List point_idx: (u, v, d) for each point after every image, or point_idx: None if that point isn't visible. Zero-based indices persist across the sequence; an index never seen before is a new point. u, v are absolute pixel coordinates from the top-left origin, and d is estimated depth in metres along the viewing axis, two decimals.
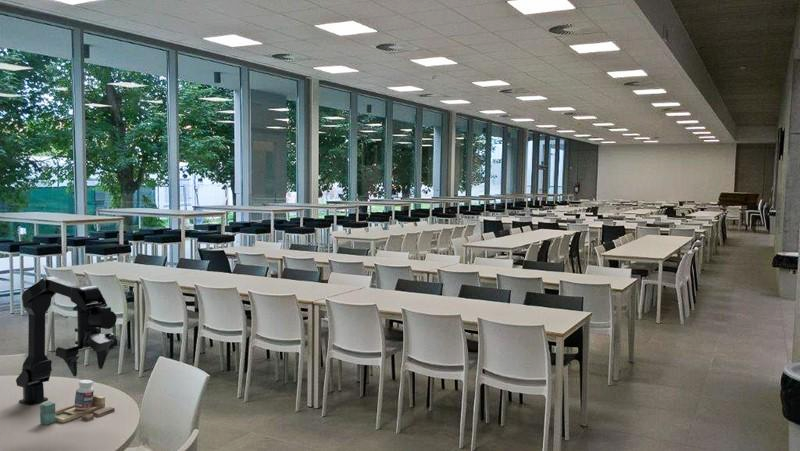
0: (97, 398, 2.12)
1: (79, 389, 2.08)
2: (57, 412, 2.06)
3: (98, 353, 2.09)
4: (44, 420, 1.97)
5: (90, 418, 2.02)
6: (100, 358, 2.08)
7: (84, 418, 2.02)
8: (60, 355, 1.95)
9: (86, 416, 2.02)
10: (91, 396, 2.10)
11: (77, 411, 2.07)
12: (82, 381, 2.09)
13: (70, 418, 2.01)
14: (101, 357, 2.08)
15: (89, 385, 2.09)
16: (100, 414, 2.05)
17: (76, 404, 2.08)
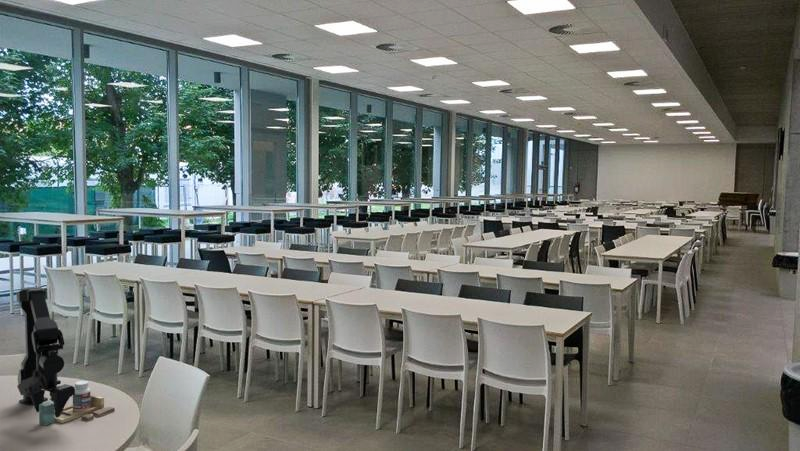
0: (96, 398, 2.12)
1: (75, 391, 2.07)
2: None
3: None
4: (43, 421, 1.97)
5: (90, 418, 2.02)
6: None
7: (84, 418, 2.02)
8: None
9: (86, 416, 2.02)
10: (88, 397, 2.09)
11: (76, 411, 2.07)
12: (77, 383, 2.09)
13: (69, 418, 2.01)
14: None
15: (85, 386, 2.08)
16: (100, 414, 2.05)
17: (74, 406, 2.07)
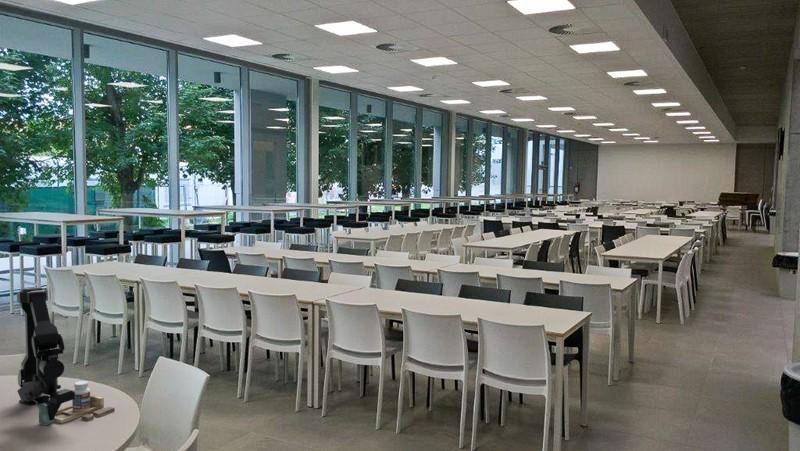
0: (96, 398, 2.12)
1: (75, 391, 2.07)
2: None
3: None
4: (42, 421, 1.97)
5: (90, 418, 2.02)
6: None
7: (84, 418, 2.02)
8: None
9: (86, 416, 2.02)
10: (88, 397, 2.09)
11: (76, 411, 2.07)
12: (77, 383, 2.08)
13: (69, 419, 2.01)
14: None
15: (84, 386, 2.08)
16: (100, 414, 2.05)
17: (74, 406, 2.07)
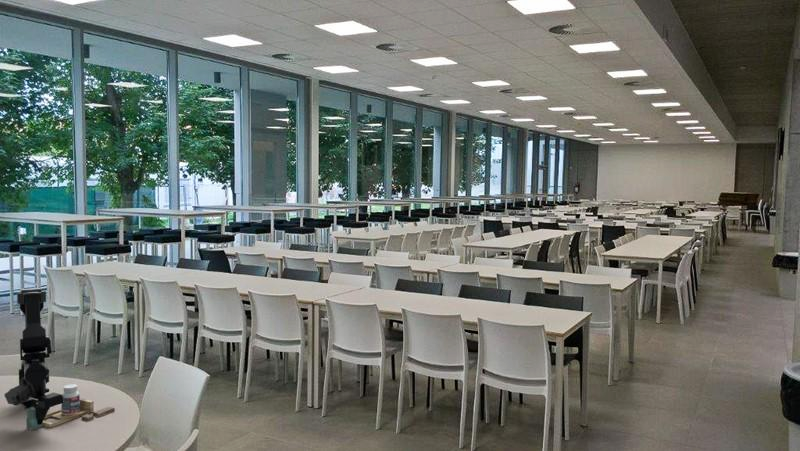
0: (85, 402, 2.08)
1: (64, 395, 2.04)
2: None
3: None
4: (30, 425, 1.93)
5: (90, 418, 2.02)
6: None
7: (84, 418, 2.02)
8: None
9: (86, 416, 2.02)
10: (78, 401, 2.06)
11: (65, 415, 2.03)
12: (66, 386, 2.05)
13: (57, 423, 1.97)
14: None
15: (74, 390, 2.05)
16: (100, 414, 2.05)
17: (63, 410, 2.04)
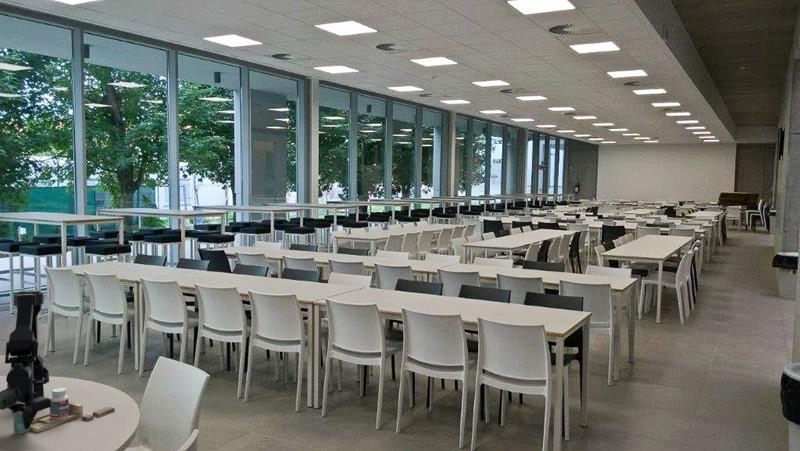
0: (74, 406, 2.05)
1: (52, 398, 2.00)
2: (32, 421, 1.98)
3: None
4: (17, 430, 1.90)
5: (90, 418, 2.02)
6: None
7: (84, 418, 2.02)
8: None
9: (86, 416, 2.02)
10: (66, 405, 2.02)
11: (53, 420, 2.00)
12: (55, 390, 2.01)
13: (45, 427, 1.93)
14: None
15: (62, 393, 2.01)
16: (100, 414, 2.05)
17: (51, 414, 2.00)
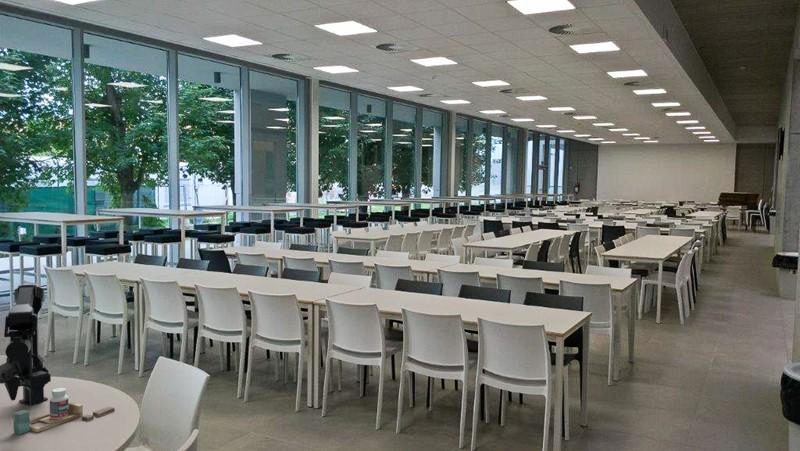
0: (74, 406, 2.05)
1: (52, 398, 2.00)
2: (32, 421, 1.98)
3: None
4: (17, 430, 1.90)
5: (90, 418, 2.02)
6: None
7: (84, 418, 2.02)
8: None
9: (86, 416, 2.02)
10: (66, 405, 2.02)
11: (53, 420, 2.00)
12: (54, 390, 2.01)
13: (45, 427, 1.93)
14: None
15: (62, 393, 2.01)
16: (100, 414, 2.05)
17: (51, 414, 2.00)
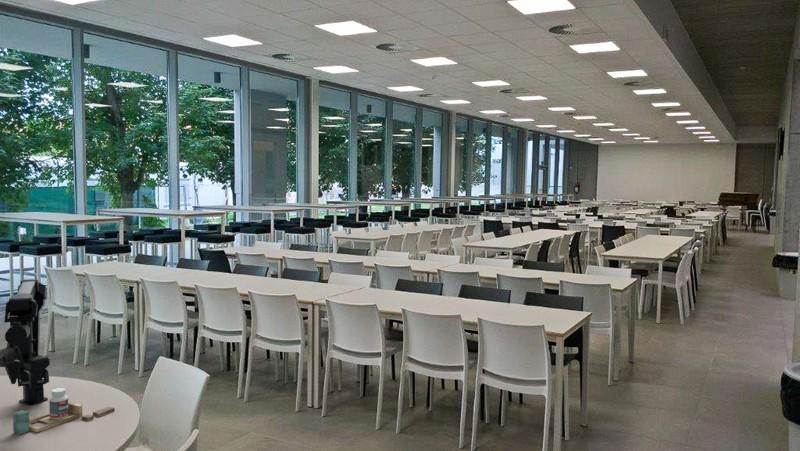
0: (74, 406, 2.05)
1: (52, 399, 2.00)
2: (32, 421, 1.98)
3: None
4: (17, 430, 1.90)
5: (90, 418, 2.02)
6: None
7: (84, 418, 2.02)
8: None
9: (86, 416, 2.02)
10: (66, 405, 2.02)
11: (53, 420, 2.00)
12: (54, 390, 2.01)
13: (45, 427, 1.93)
14: None
15: (62, 393, 2.01)
16: (100, 414, 2.05)
17: (51, 414, 2.00)
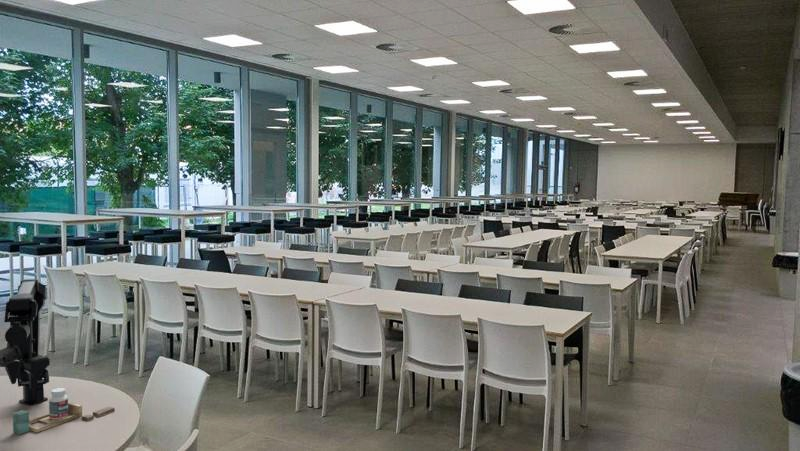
0: (74, 406, 2.05)
1: (52, 399, 2.00)
2: (32, 421, 1.98)
3: None
4: (17, 430, 1.90)
5: (90, 418, 2.02)
6: None
7: (84, 418, 2.02)
8: None
9: (86, 416, 2.02)
10: (66, 405, 2.02)
11: (53, 420, 2.00)
12: (54, 390, 2.01)
13: (44, 427, 1.93)
14: None
15: (62, 393, 2.01)
16: (100, 414, 2.05)
17: (51, 414, 2.00)
